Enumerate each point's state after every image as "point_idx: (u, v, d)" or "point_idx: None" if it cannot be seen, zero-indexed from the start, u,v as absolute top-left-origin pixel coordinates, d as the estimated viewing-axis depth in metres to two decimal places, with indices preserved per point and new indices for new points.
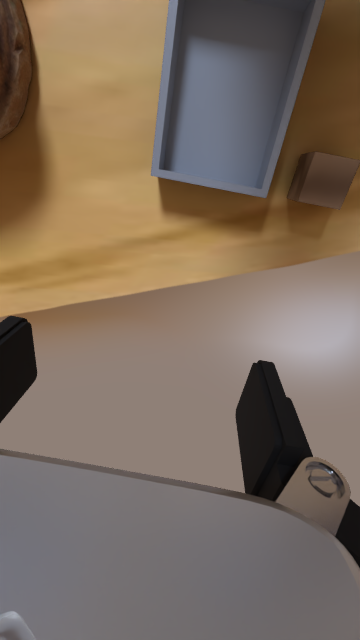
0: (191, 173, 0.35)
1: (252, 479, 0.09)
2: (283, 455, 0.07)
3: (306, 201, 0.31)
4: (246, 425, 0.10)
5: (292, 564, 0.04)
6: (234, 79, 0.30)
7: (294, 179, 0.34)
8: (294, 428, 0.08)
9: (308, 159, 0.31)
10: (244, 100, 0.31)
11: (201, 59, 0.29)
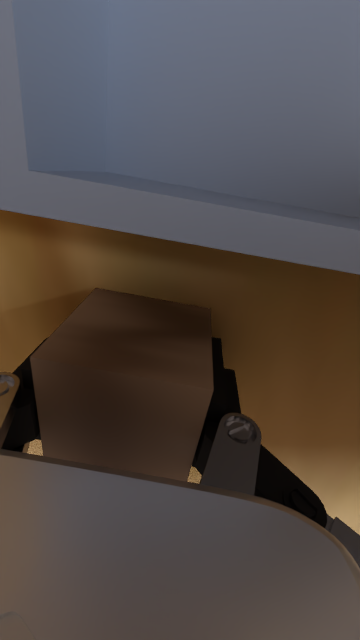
0: None
1: None
2: (210, 412, 0.08)
3: (39, 384, 0.08)
4: None
5: (292, 564, 0.04)
6: None
7: (143, 304, 0.11)
8: (222, 389, 0.09)
9: (191, 354, 0.09)
10: None
11: None
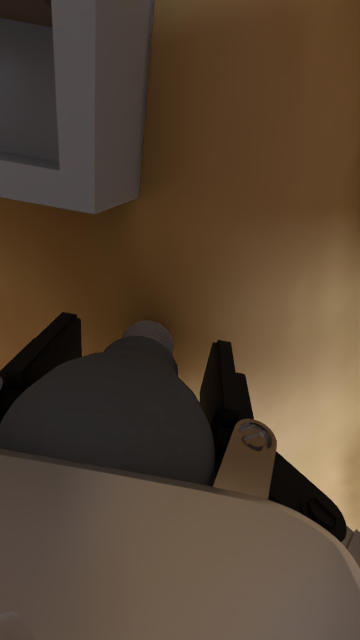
0: None
1: None
2: (223, 418, 0.08)
3: None
4: (204, 398, 0.11)
5: (292, 564, 0.04)
6: None
7: None
8: (235, 394, 0.09)
9: None
10: None
11: None
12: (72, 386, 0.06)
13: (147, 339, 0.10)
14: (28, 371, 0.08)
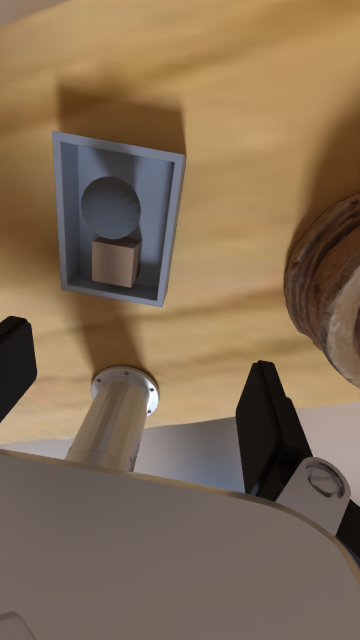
0: (148, 159, 0.32)
1: (252, 479, 0.09)
2: (283, 455, 0.07)
3: (93, 249, 0.32)
4: (246, 424, 0.10)
5: (292, 564, 0.04)
6: None
7: None
8: (294, 428, 0.08)
9: (131, 245, 0.33)
10: None
11: (147, 252, 0.37)
12: (103, 177, 0.27)
13: None
14: None
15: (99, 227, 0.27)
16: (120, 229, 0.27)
